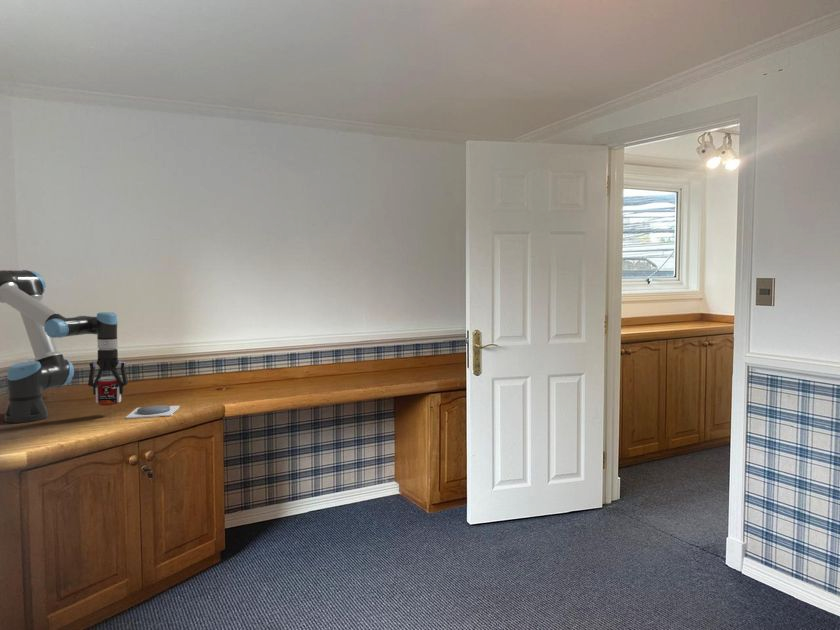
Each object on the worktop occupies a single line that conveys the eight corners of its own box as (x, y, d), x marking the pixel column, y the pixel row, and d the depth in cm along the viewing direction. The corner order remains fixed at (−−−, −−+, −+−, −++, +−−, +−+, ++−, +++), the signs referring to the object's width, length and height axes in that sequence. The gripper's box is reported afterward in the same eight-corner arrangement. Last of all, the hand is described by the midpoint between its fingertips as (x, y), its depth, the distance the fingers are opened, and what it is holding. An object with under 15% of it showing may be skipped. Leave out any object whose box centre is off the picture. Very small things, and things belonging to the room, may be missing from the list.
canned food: (96, 406, 247) (95, 380, 246) (101, 401, 255) (100, 376, 254) (116, 405, 249) (115, 379, 248) (120, 401, 257) (120, 376, 256)
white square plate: (125, 418, 246) (125, 414, 246) (137, 409, 263) (136, 405, 263) (171, 416, 249) (171, 411, 249) (179, 406, 267) (179, 402, 267)
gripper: (77, 350, 244) (79, 404, 246) (131, 349, 248) (132, 403, 250) (84, 347, 251) (85, 400, 253) (136, 347, 256) (136, 399, 257)
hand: (108, 401), depth 252 cm, fingers closed on canned food, 8 cm apart
